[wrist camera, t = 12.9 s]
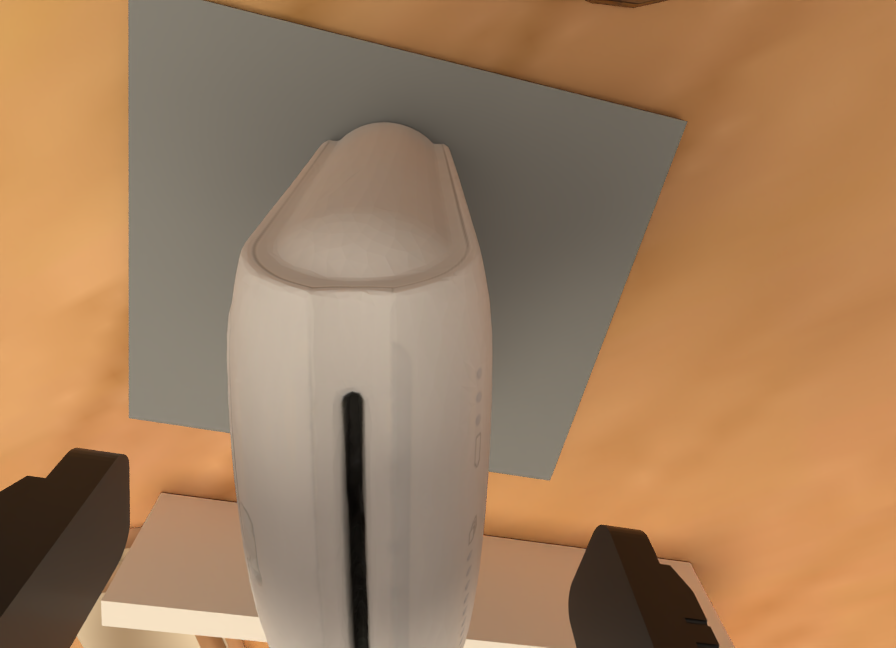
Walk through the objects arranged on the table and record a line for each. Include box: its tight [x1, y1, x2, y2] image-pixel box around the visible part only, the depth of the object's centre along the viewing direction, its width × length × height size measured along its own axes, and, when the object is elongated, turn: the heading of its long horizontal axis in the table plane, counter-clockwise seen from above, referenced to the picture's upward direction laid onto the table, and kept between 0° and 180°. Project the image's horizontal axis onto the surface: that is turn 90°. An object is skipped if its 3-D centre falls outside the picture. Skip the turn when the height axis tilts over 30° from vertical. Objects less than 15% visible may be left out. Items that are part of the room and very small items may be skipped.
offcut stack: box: [77, 527, 245, 648], centre depth 26 cm, size 5×11×3 cm, turn 7°
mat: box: [129, 0, 687, 480], centre depth 20 cm, size 16×14×1 cm
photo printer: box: [227, 122, 492, 648], centre depth 14 cm, size 10×4×12 cm, turn 178°
